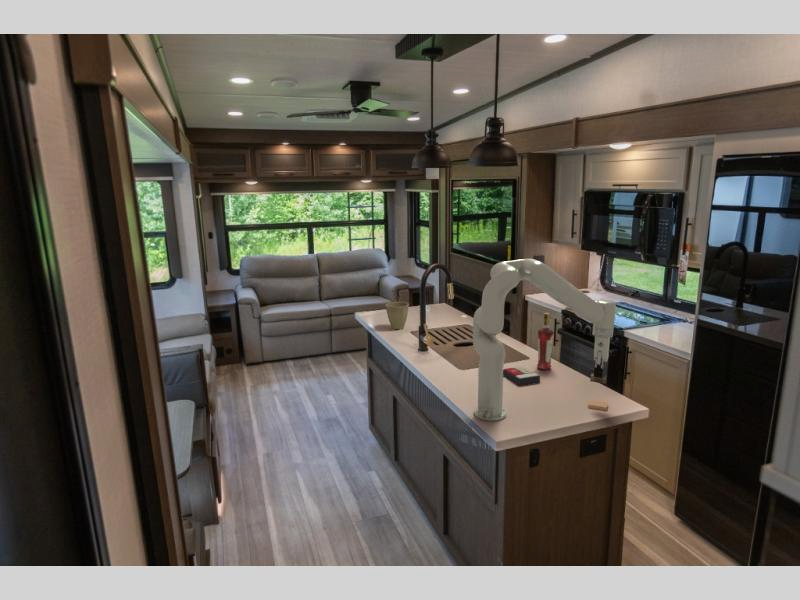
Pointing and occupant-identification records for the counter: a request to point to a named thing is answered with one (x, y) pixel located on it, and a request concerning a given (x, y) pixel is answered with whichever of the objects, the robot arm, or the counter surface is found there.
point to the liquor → (545, 345)
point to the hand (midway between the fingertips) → (598, 374)
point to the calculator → (521, 375)
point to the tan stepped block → (598, 379)
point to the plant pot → (397, 314)
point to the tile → (598, 405)
